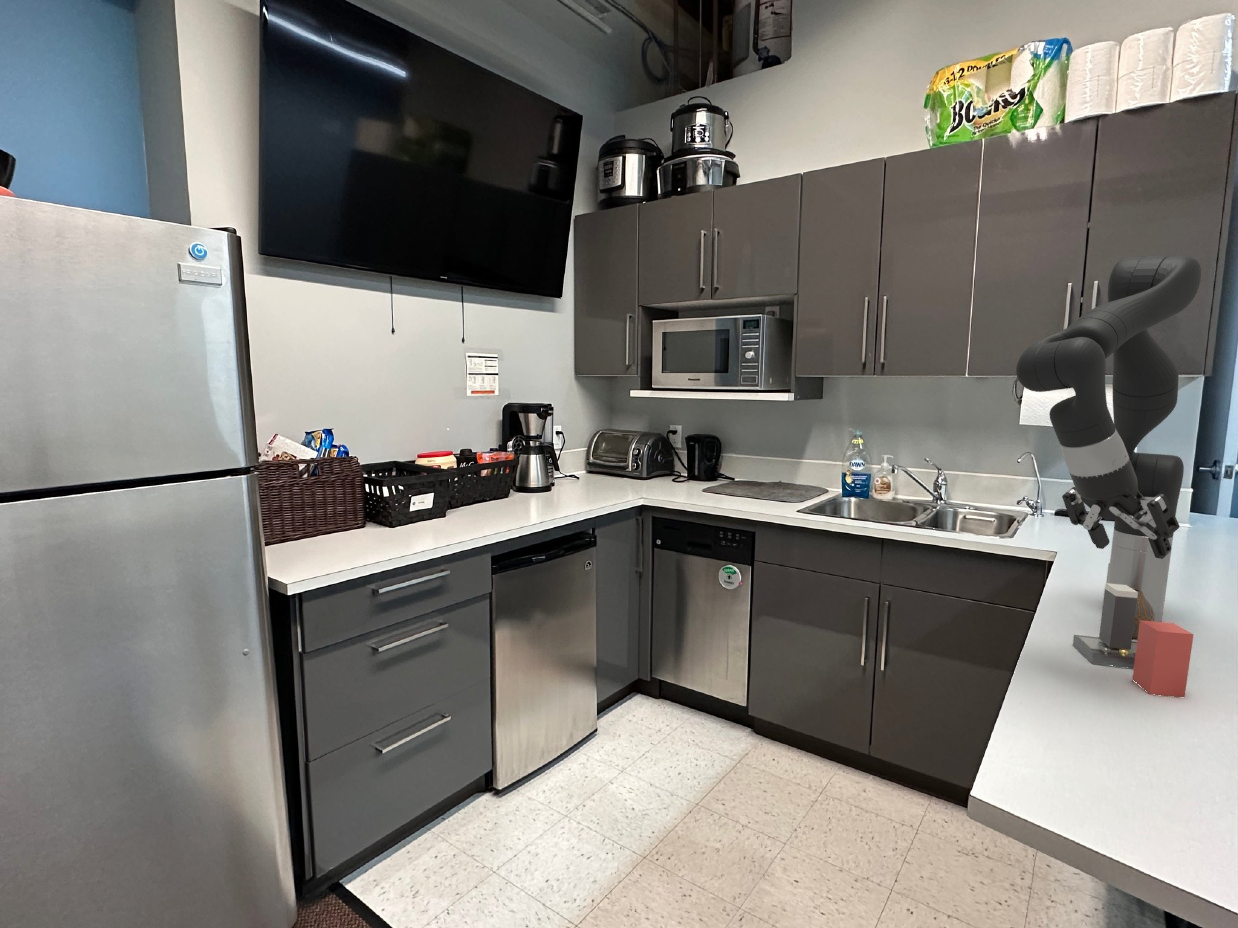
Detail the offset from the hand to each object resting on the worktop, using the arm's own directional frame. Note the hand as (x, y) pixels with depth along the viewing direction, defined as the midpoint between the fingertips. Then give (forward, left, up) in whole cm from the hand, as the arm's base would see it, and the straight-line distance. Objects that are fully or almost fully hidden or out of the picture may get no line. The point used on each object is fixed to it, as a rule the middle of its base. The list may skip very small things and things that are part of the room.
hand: (1132, 550), depth 97 cm
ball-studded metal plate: (-8, +6, -21) cm, 23 cm away
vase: (-21, +13, -21) cm, 32 cm away
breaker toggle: (-8, +4, -18) cm, 20 cm away
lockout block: (+3, +4, -21) cm, 21 cm away
